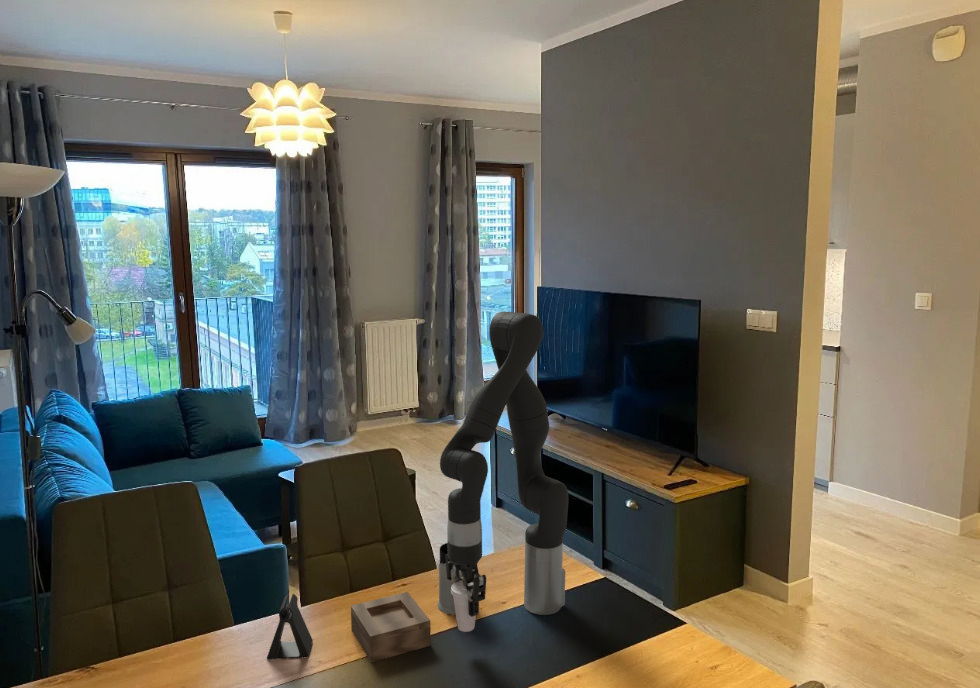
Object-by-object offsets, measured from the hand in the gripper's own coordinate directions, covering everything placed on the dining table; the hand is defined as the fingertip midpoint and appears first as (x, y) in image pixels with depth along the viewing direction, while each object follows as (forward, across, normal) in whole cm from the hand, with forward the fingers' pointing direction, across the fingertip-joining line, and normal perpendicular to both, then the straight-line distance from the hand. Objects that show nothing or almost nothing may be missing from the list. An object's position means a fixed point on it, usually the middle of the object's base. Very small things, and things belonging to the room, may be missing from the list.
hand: (465, 607), depth 162 cm
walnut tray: (+10, +13, +12) cm, 21 cm away
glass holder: (+11, +19, -10) cm, 24 cm away
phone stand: (+10, +20, +34) cm, 40 cm away
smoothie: (+5, 0, 0) cm, 5 cm away
